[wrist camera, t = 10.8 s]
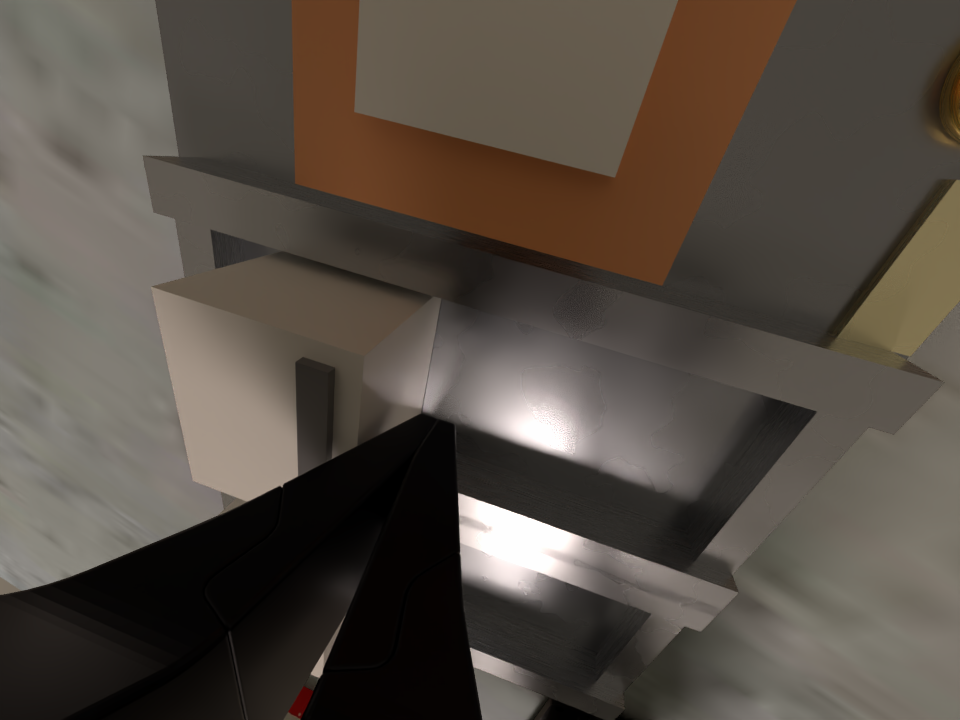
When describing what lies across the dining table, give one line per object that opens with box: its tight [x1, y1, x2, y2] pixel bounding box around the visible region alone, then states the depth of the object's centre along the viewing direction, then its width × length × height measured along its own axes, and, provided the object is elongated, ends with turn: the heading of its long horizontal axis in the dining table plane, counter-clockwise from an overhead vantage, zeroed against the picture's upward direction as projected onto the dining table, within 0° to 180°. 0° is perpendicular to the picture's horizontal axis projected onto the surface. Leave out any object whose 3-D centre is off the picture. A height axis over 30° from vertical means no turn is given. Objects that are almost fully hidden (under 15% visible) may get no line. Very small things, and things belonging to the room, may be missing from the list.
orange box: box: [292, 0, 797, 286], centre depth 5 cm, size 4×4×5 cm
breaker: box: [151, 251, 441, 502], centre depth 9 cm, size 5×4×4 cm
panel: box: [143, 0, 960, 720], centre depth 11 cm, size 21×18×4 cm
